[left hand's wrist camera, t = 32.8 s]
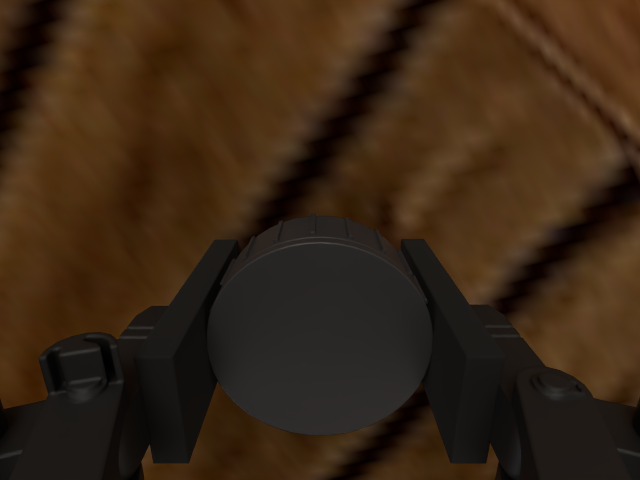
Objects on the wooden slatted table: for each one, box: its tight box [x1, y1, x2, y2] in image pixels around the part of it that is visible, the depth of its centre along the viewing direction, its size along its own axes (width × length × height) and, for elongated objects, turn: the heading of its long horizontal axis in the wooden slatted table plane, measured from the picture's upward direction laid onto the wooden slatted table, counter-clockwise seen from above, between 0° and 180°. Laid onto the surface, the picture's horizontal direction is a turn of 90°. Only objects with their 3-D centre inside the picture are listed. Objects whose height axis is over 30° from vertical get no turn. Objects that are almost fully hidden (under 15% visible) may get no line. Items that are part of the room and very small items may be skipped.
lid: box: [206, 214, 433, 435], centre depth 11 cm, size 6×6×2 cm
